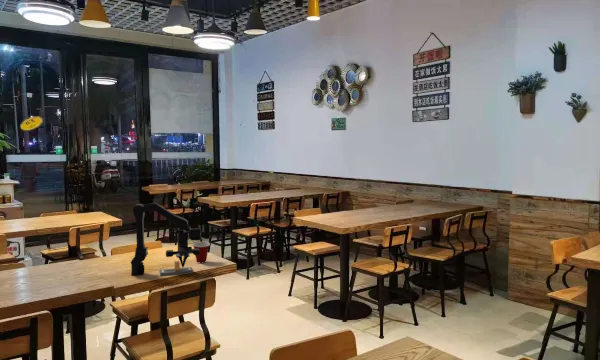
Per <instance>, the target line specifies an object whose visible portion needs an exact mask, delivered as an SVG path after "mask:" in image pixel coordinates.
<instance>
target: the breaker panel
mask: <svg viewBox="0 0 600 360" xmlns="http://www.w3.org/2000/svg"><path fill="white" fill-rule="evenodd" d="M187 274H194V270H193V267H192V266H191V267H190V266H189V267H180V270H177V271H175V269H174V268H165V269H159V276H160V277H163V276H174V275H175V276H177V275H187Z"/></svg>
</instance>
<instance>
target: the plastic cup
mask: <svg viewBox="0 0 600 360" xmlns="http://www.w3.org/2000/svg"><path fill="white" fill-rule="evenodd" d="M192 246H193V247H192V248H193V249H195V248H198V249H199V250H200V255H194V256H195V260H196V263H197V262H205V261H206V262H207V258H208V251H209V247H210V246H211V242H208V241H197V242H193V243H192ZM206 262H205V263H206Z"/></svg>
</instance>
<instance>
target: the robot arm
mask: <svg viewBox="0 0 600 360" xmlns="http://www.w3.org/2000/svg"><path fill="white" fill-rule="evenodd" d="M132 208H133V209H132V213H133V218H134V219H135V232H136V233H135V235H136V238H135V239H136V248H135V252H134V257H132V259H131V261H130V264H131V266H130V267H131V272H130V273H131V276H132V277H133V276H144V274H145V264H144V262H143V261H144V260H146V257H147V256H148V254H149V252H148V246H146V245H145V232H144V230H145V228H144V223H145V222H144V219H145V215H146V213H147V212H151V211H154V212H155V213H158V214H160V215H161V216H162V217H164V218H166V219H167V220H168V221H170V222H172V223H173V224H174V225H175V227H177V228H176V229H175V231H174V234H177V250H175V251H174V250H173V249H168V250H167V249H166V251H165V257H166V258H173V256H176V258H178V259H179V260H178V261H179V262H180V265H181V268H185V264H186V262H187V259H188V258H189V257H190V255H191V254H193V255H194V256H195V255H200V250H199V249H198V248H195V249H194V248H193V247H192V246H189V240H190V241H202V232H201V229H202V228H201V227H200V228H199V227H198V228H192V227H191V226H190V224H189V220H187V219H186V218H184V217H182V216H179V215H177V214H174V213H173V212H172V211H170V210H168V209H166V208H165V207H163V206H161V205H160V204H159V203H158V202H152V203H146V204H143V203H138V204H136V205H135V206H134V207H132Z"/></svg>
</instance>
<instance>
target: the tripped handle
mask: <svg viewBox="0 0 600 360" xmlns="http://www.w3.org/2000/svg"><path fill="white" fill-rule="evenodd" d="M173 264H174V268H173V269H175V271H177V270H180V268H181V267H180V265H181V262H180V260H175V261H174V263H173Z"/></svg>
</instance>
